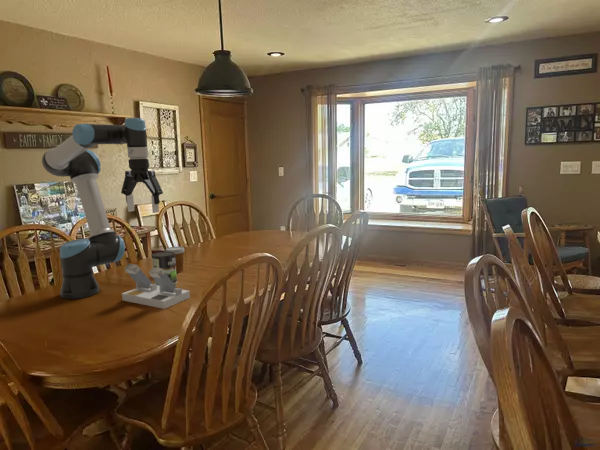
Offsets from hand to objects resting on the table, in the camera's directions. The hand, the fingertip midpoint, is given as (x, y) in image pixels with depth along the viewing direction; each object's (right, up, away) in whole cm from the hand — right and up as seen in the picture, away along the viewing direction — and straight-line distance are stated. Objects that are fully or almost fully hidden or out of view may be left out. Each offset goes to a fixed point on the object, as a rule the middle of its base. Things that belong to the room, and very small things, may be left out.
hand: (143, 211), depth 174 cm
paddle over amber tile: (-2, -31, +9) cm, 32 cm away
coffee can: (+1, -33, +26) cm, 42 cm away
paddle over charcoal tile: (+10, -32, +2) cm, 33 cm away
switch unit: (+3, -36, +5) cm, 36 cm away
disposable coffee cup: (0, -29, +47) cm, 55 cm away
